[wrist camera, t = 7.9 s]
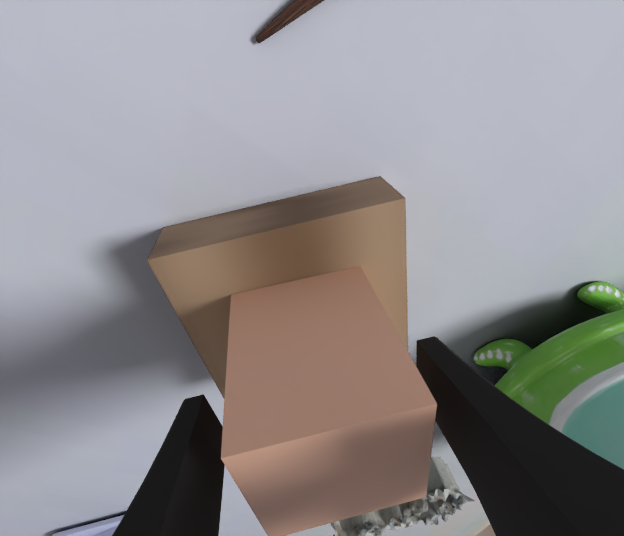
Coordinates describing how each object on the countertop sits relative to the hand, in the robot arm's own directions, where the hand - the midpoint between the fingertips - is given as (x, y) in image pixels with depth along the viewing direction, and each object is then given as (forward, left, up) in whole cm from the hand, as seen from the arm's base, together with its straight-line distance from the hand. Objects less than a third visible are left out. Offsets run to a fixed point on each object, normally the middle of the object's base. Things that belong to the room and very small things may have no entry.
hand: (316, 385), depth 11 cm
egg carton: (+4, -22, -6) cm, 23 cm away
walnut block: (0, 0, -6) cm, 6 cm away
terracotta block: (0, 0, -3) cm, 3 cm away
